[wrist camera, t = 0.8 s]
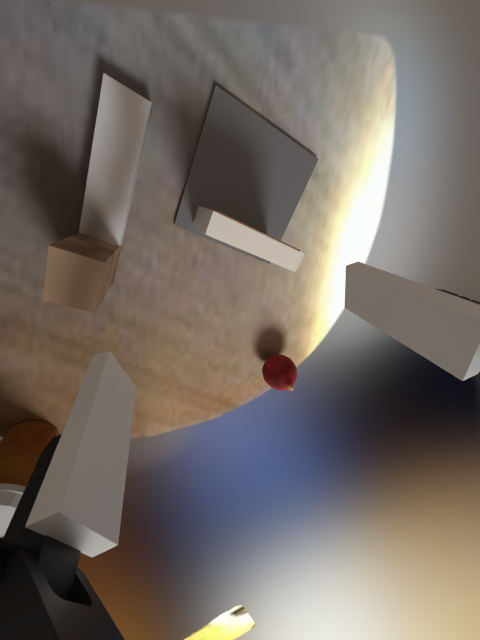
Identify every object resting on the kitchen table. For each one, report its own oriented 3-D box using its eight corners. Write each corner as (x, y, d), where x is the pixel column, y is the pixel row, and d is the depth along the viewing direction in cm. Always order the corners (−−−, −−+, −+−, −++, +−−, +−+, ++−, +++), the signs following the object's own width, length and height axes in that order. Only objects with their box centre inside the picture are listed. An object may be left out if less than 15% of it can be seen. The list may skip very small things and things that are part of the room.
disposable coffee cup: (65, 409, 36) (25, 494, 26) (74, 448, 40) (43, 535, 30) (-15, 416, 33) (-95, 515, 23) (4, 458, 37) (-57, 558, 27)
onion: (253, 371, 43) (269, 404, 36) (260, 346, 41) (279, 376, 34) (280, 370, 45) (300, 401, 38) (289, 346, 43) (312, 374, 36)
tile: (193, 222, 28) (205, 234, 20) (198, 204, 27) (213, 208, 19) (261, 252, 32) (295, 272, 24) (267, 237, 32) (305, 252, 23)
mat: (174, 223, 28) (174, 224, 28) (215, 86, 23) (215, 84, 23) (268, 262, 34) (269, 263, 33) (316, 159, 29) (318, 158, 29)
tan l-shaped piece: (76, 271, 27) (42, 301, 20) (107, 80, 21) (74, 15, 13) (113, 282, 29) (94, 312, 22) (152, 107, 23) (146, 63, 15)
